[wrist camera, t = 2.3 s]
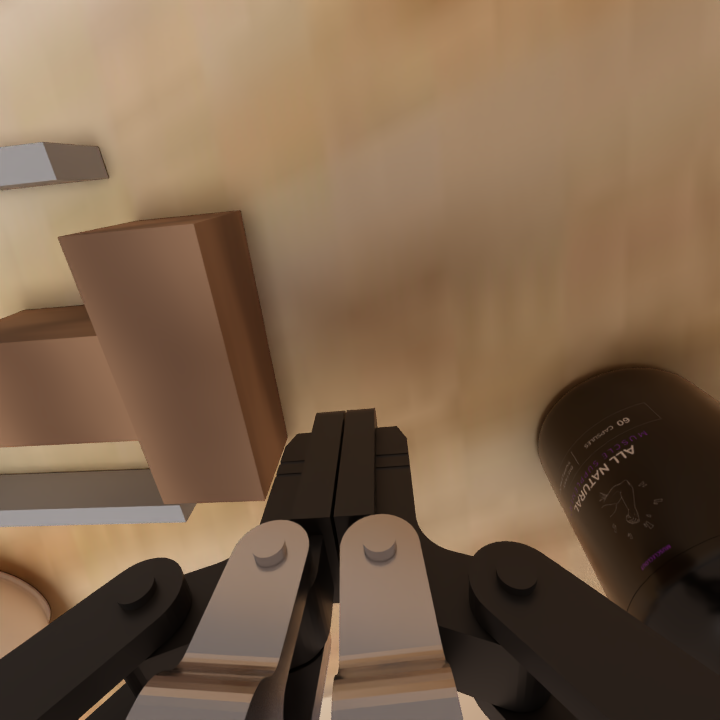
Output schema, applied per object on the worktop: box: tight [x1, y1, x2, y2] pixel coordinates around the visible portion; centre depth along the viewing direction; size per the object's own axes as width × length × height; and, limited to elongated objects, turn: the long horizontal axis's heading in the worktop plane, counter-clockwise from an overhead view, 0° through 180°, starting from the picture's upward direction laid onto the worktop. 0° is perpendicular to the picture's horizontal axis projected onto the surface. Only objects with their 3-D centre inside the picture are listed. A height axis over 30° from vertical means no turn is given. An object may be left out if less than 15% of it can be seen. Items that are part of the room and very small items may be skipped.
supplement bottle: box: [538, 368, 720, 676], centre depth 12 cm, size 7×7×12 cm
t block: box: [0, 211, 288, 504], centre depth 15 cm, size 10×10×4 cm
